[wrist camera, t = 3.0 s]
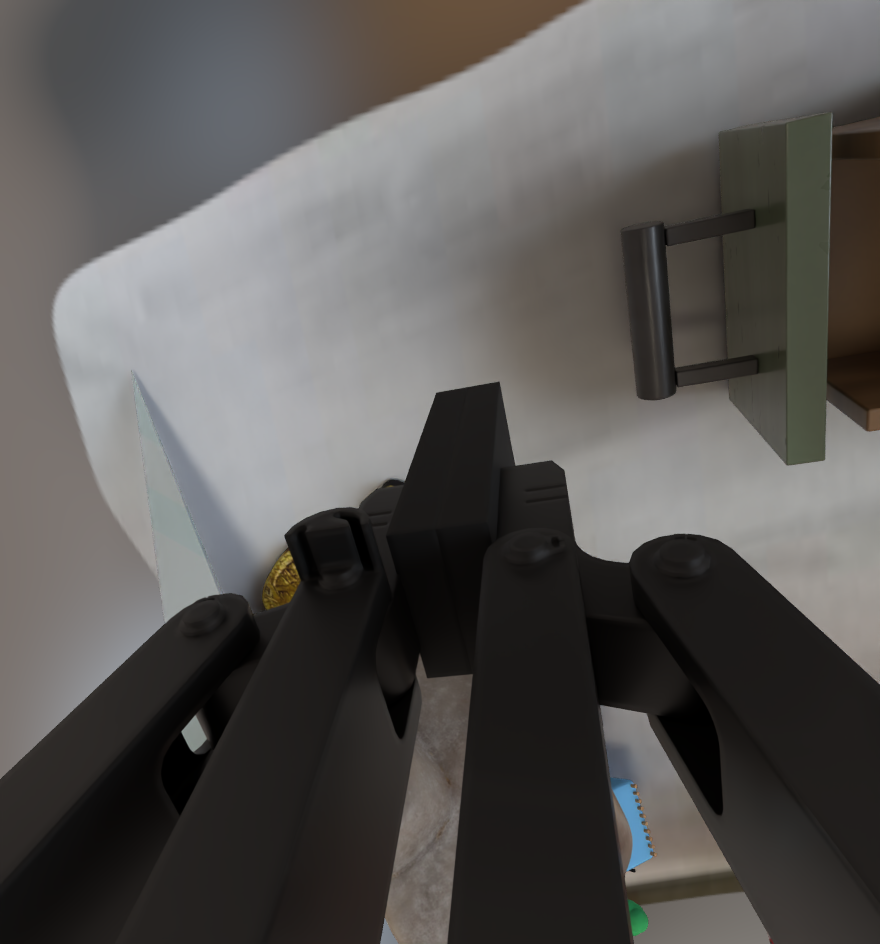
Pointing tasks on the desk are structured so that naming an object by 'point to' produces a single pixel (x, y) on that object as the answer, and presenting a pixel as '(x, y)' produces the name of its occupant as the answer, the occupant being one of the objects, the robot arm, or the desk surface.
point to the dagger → (173, 539)
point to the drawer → (779, 281)
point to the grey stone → (439, 815)
